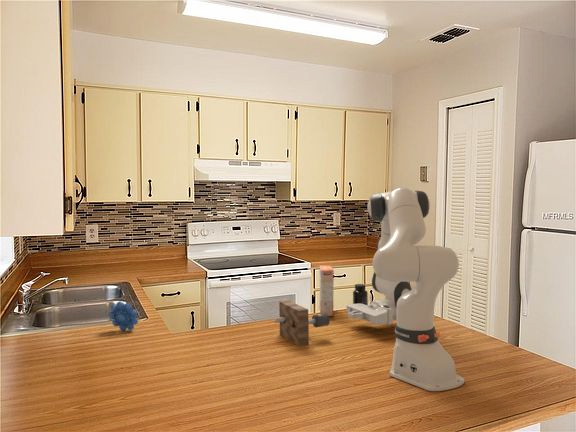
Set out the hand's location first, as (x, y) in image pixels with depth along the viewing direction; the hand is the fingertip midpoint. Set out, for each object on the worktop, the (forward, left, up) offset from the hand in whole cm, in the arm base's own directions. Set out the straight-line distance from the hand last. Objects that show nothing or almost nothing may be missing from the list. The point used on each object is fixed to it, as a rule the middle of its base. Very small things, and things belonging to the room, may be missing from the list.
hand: (349, 315), depth 184 cm
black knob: (0, +17, -2) cm, 17 cm away
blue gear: (+46, +79, -7) cm, 91 cm away
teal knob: (+8, +22, -2) cm, 23 cm away
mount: (+4, +23, -7) cm, 24 cm away
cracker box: (+31, -8, -7) cm, 33 cm away
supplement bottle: (+27, -24, -7) cm, 37 cm away
